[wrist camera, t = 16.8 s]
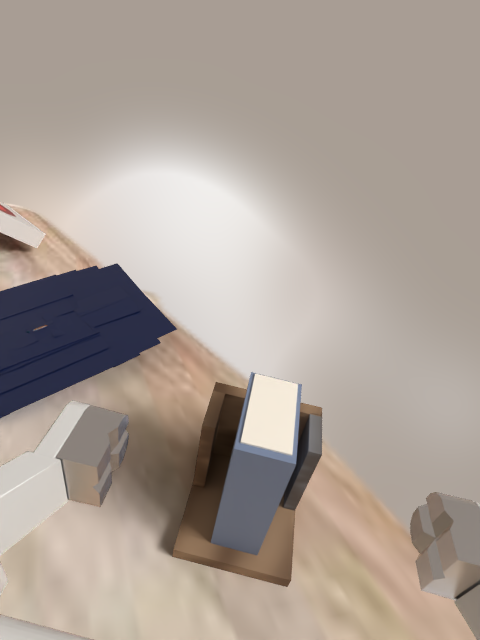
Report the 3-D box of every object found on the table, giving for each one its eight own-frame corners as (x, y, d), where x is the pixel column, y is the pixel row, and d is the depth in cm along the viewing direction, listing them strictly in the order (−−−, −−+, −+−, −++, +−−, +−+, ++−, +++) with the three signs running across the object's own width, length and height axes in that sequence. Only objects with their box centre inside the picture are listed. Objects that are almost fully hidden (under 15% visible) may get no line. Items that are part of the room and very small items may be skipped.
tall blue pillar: (210, 543, 37) (234, 447, 28) (227, 468, 43) (251, 371, 34) (257, 555, 36) (296, 463, 27) (267, 478, 43) (302, 383, 34)
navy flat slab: (184, 350, 58) (183, 332, 55) (-50, 459, 43) (-65, 441, 41) (115, 271, 72) (112, 254, 69) (-80, 333, 57) (-93, 314, 54)
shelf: (172, 556, 37) (180, 492, 30) (203, 449, 46) (215, 382, 39) (287, 586, 36) (322, 528, 29) (294, 471, 46) (322, 407, 39)
